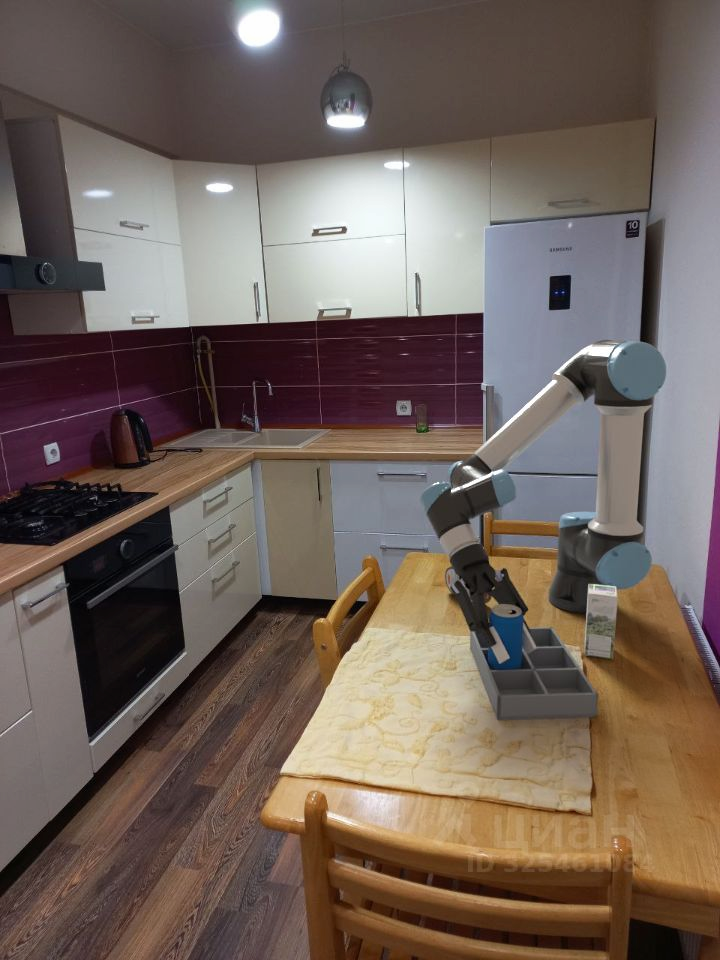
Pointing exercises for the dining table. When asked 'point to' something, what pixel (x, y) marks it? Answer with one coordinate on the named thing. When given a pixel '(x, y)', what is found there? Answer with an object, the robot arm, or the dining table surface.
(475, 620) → the robot arm
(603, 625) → the syrup box
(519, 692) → the can crate
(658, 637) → the dining table surface
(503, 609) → the beverage can
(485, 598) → the tin
